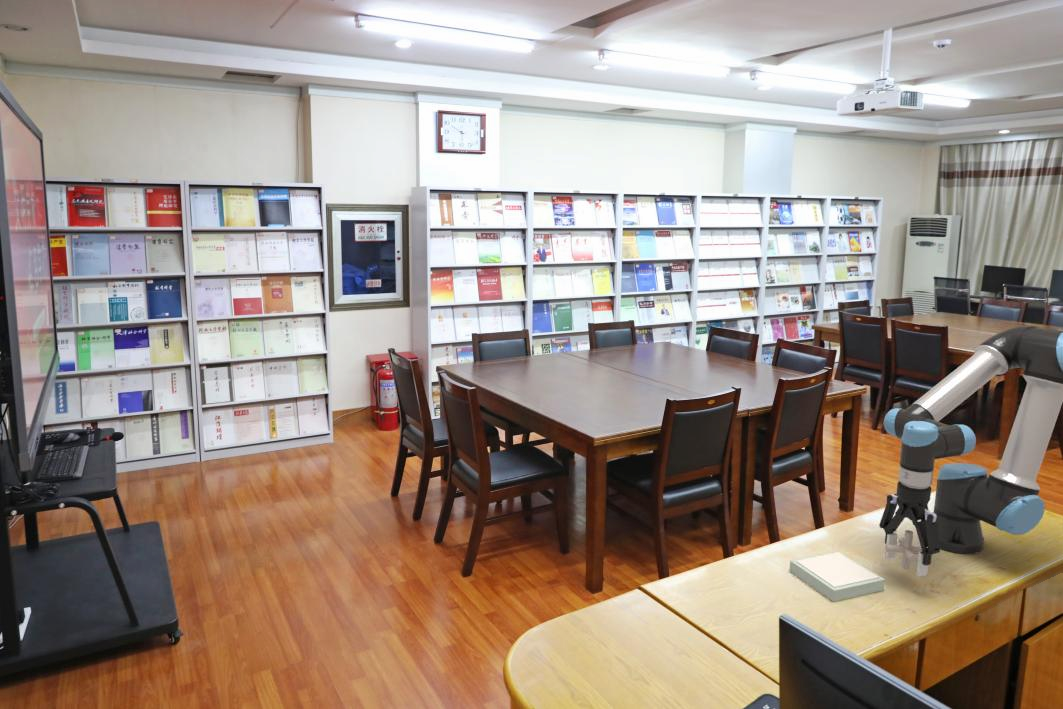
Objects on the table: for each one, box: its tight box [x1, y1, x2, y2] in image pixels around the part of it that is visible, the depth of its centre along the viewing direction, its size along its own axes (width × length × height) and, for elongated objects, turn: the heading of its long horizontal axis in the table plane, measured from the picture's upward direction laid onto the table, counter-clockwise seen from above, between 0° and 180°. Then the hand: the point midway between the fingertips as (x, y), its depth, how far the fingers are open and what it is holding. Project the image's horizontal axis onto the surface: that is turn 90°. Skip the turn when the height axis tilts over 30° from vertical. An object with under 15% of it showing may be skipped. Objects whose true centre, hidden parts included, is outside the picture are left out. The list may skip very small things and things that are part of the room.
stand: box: [788, 550, 886, 603], centre depth 191 cm, size 16×16×3 cm
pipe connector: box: [884, 529, 922, 571], centre depth 189 cm, size 10×10×10 cm
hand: (905, 565), depth 190 cm, fingers closed on pipe connector, 9 cm apart
